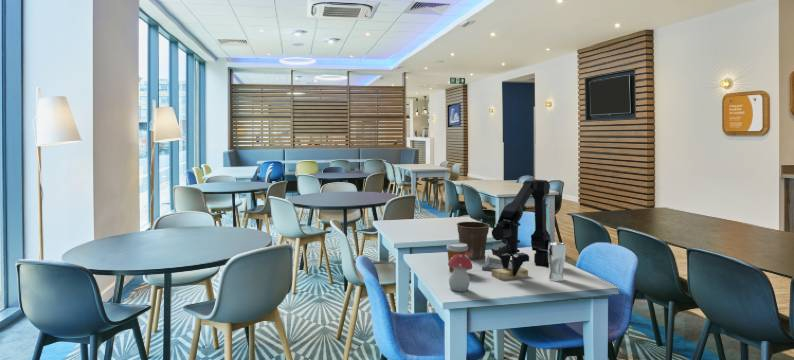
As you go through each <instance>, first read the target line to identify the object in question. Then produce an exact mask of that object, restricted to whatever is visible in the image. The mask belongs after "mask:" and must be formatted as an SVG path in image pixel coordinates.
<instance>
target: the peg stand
mask: <svg viewBox="0 0 794 360" xmlns="http://www.w3.org/2000/svg"><path fill="white" fill-rule="evenodd" d="M510 260H512V256H511V258H510ZM511 267H512V263H511V262H510V264H509V266H508V268H511ZM502 268H503V266H502V263H493V262H490V255H489V254H485V262H483V263H482V266H481V270H482V271H488V272H489V271H490V272H492V269H502Z"/></svg>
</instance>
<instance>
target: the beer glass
mask: <svg viewBox="0 0 794 360" xmlns="http://www.w3.org/2000/svg"><path fill="white" fill-rule="evenodd" d="M566 251H567V249H566V243H564V242H559V241H551V242H550V243H549V246H548V262H549V266H548V268H549V270H548V277H547V279H548V280H549V281H551V282H563V281H564V267H565V262H566V257H567V256H566Z"/></svg>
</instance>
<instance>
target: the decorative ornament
mask: <svg viewBox="0 0 794 360" xmlns="http://www.w3.org/2000/svg"><path fill="white" fill-rule="evenodd" d="M471 256H472V254H471V253H470V252H466V253H465V255H463V254H456V255H454V256H453V257H452V258H451V259H450V260H449V261H448V262H447V266H448V267H449V266H450V267H452V268H453V269H454V270H453V272H452V273H451V272H450V273H451V274H450V275H449V278H448V284H449V288H450V290H452V291H454V292H460V293H461V292H463V293H464V292H467V291H468V289H469V286H470V284H471V283H470V282H471V281H470V280H471V279H470V276H469V274H468V272H467V271H469V270H470V271H471V270H472V269H473V263H472V261H471V259H469V257H471Z"/></svg>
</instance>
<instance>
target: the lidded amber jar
mask: <svg viewBox="0 0 794 360" xmlns="http://www.w3.org/2000/svg"><path fill="white" fill-rule="evenodd" d="M446 250H447V258H448V262H449V260H450V259H451V258H452V257H453V256H454V255H456V254H463V255H465V253H466V252H467V250H468V246H467V244H465V243H459V242H449V243H447V245H446ZM448 267H449V273H452V272H453V270H454V269H453V268H452V267H450V266H448Z"/></svg>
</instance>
